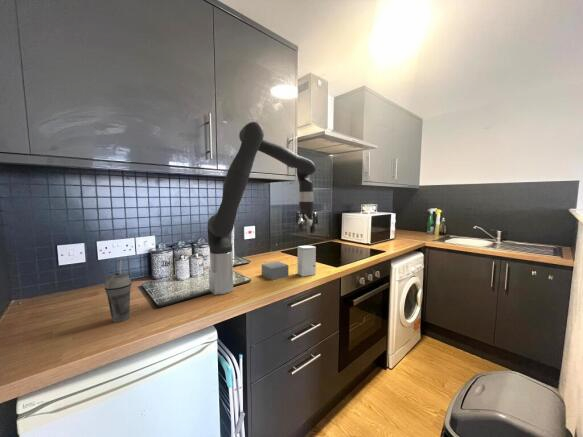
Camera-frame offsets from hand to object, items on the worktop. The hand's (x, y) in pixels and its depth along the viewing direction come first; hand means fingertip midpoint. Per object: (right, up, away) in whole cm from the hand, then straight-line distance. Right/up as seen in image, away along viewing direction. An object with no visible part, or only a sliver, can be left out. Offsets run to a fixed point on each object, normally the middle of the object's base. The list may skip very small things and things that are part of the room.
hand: (306, 232), depth 121 cm
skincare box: (0, -22, +2) cm, 22 cm away
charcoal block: (-16, -23, 0) cm, 28 cm away
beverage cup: (-65, -27, -43) cm, 82 cm away
